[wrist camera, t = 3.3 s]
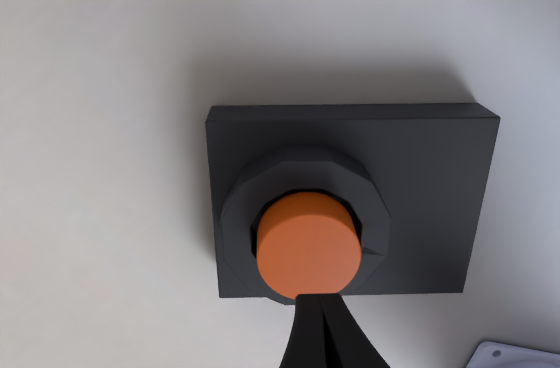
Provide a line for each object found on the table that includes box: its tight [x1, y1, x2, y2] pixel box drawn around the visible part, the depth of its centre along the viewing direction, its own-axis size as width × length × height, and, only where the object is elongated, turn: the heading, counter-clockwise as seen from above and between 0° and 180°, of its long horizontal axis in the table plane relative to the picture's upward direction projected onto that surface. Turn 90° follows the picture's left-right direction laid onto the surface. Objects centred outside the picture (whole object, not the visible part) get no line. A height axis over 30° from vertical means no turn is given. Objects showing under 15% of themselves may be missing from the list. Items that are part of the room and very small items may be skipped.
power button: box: [256, 192, 361, 299], centre depth 18 cm, size 4×4×2 cm
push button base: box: [205, 103, 500, 305], centre depth 20 cm, size 12×9×4 cm
